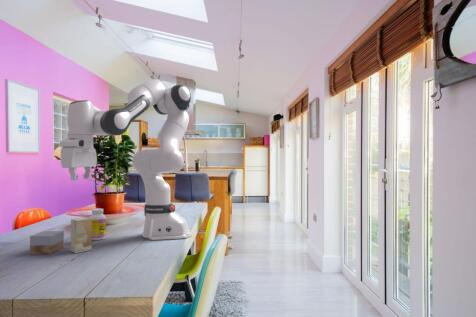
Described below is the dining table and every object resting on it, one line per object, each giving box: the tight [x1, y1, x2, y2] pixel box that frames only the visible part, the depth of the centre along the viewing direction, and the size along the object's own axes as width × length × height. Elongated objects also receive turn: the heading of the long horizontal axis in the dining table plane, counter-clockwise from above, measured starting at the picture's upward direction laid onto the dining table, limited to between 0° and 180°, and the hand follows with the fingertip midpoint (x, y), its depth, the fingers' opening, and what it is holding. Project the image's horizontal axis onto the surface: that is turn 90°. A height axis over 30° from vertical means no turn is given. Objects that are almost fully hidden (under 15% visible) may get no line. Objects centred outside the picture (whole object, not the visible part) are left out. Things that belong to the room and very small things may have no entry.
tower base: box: [29, 239, 65, 255], centre depth 121 cm, size 8×8×4 cm
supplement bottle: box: [88, 208, 107, 241], centre depth 139 cm, size 7×7×13 cm
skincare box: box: [70, 216, 93, 254], centre depth 121 cm, size 6×4×12 cm
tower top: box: [29, 230, 65, 247], centre depth 122 cm, size 8×8×4 cm
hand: (80, 179), depth 121 cm, fingers open, 8 cm apart
